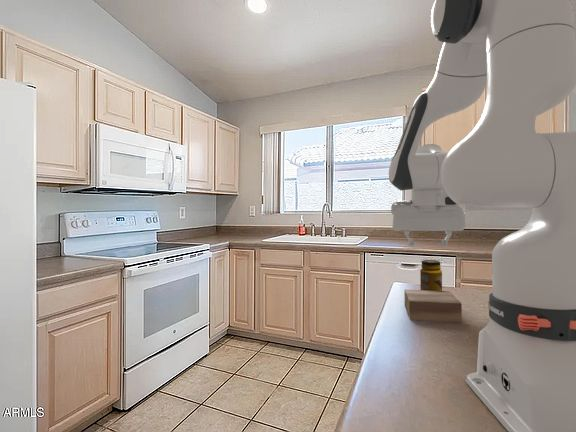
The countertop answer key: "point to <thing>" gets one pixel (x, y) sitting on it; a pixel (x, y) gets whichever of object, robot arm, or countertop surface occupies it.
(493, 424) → the countertop surface
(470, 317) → the countertop surface
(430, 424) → the countertop surface
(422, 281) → the condiment
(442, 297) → the walnut block
